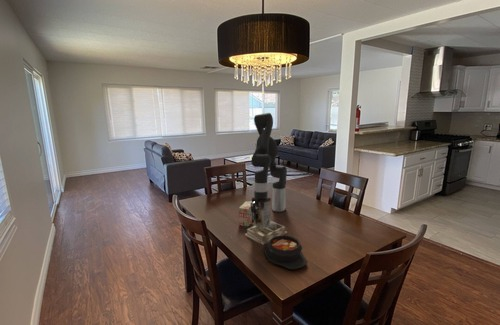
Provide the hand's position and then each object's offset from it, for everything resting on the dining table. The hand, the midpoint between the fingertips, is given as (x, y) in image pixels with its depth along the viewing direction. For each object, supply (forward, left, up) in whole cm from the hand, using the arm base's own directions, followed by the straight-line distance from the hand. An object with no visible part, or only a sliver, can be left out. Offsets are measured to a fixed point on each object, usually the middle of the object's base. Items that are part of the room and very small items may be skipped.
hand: (260, 217), depth 145 cm
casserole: (+6, +23, -12) cm, 27 cm away
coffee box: (0, 0, -5) cm, 5 cm away
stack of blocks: (-11, -22, -12) cm, 27 cm away
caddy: (-5, 0, -12) cm, 13 cm away
